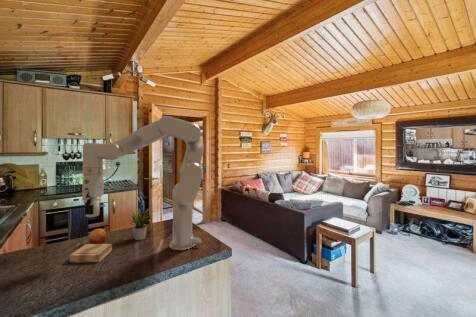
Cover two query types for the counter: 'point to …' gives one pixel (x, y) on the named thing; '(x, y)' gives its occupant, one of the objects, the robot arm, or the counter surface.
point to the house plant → (140, 225)
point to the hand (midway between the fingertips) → (92, 212)
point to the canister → (95, 207)
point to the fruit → (97, 236)
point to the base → (91, 253)
